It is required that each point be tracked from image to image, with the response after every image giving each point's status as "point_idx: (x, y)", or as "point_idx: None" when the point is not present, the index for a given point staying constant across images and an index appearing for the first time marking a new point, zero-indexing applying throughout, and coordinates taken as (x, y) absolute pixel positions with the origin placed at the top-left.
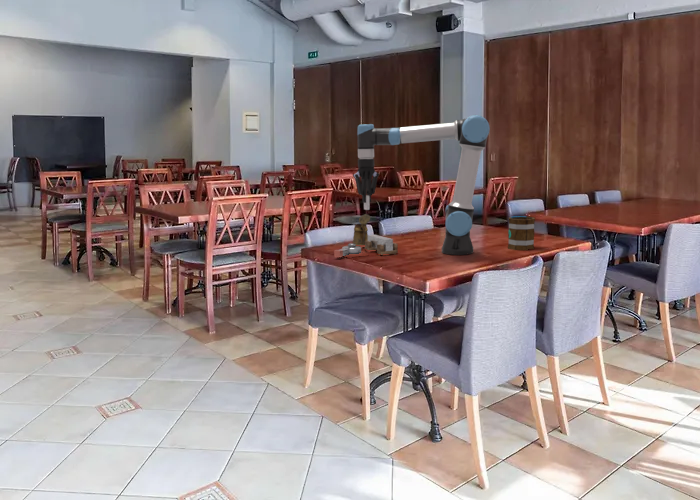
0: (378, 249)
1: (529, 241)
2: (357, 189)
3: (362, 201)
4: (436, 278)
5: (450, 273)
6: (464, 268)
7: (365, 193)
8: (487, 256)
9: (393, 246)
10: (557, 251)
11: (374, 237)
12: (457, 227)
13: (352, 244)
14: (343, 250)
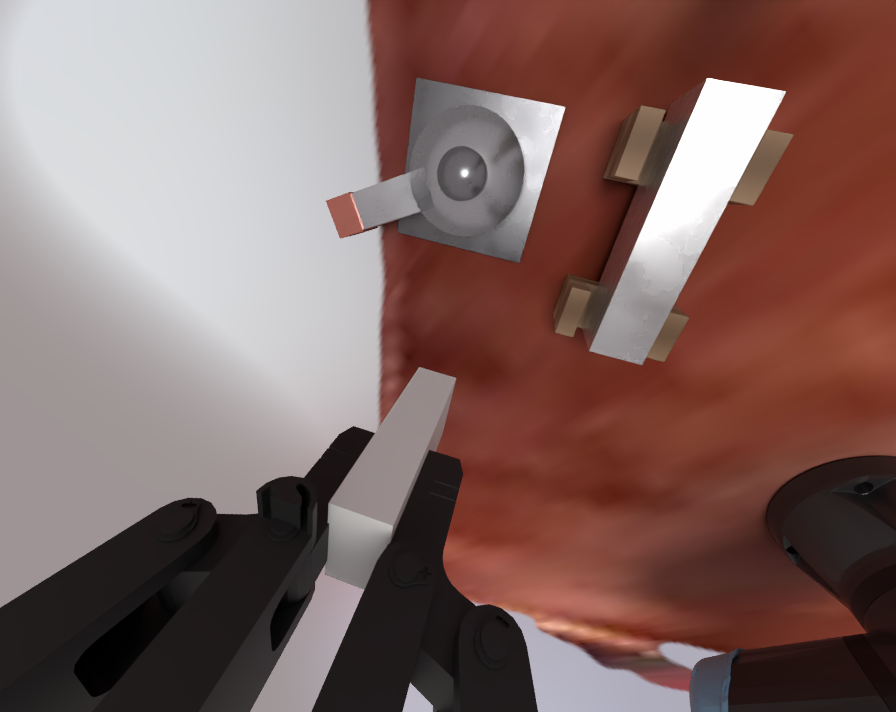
0: (564, 295)
1: None
2: (20, 596)
3: (339, 436)
4: None
5: (476, 596)
6: (553, 604)
7: (276, 613)
8: (804, 612)
9: None
10: None
11: (649, 208)
12: None
13: (450, 196)
14: (370, 226)
